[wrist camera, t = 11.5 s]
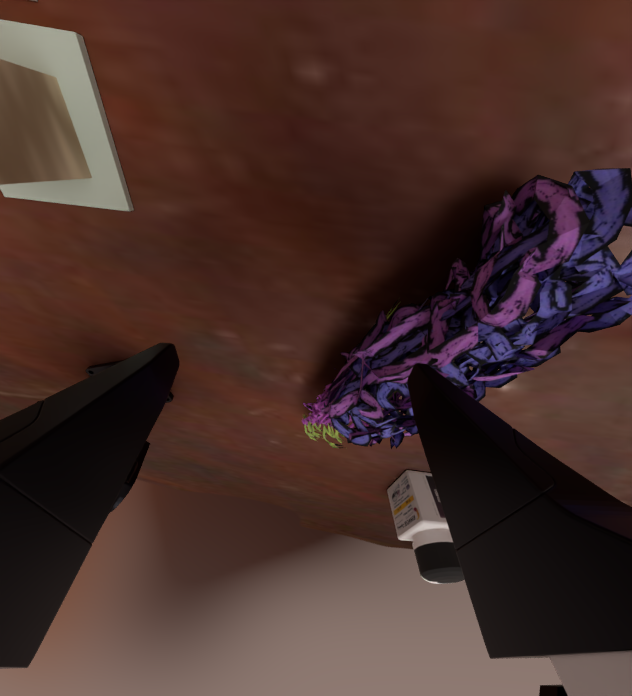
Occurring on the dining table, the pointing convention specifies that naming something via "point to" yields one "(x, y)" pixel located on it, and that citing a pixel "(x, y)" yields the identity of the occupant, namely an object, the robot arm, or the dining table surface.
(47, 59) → the felt pad
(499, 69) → the dining table surface
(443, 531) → the container
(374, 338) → the decorative ornament
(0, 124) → the pillar
